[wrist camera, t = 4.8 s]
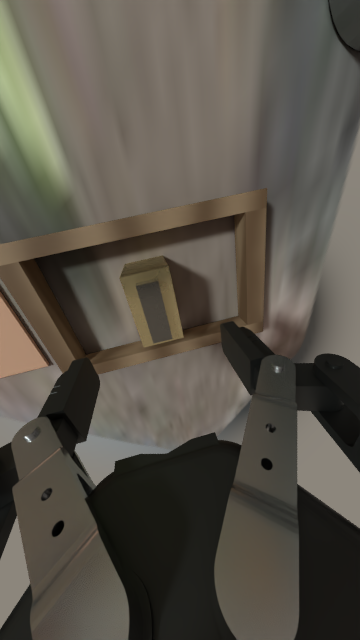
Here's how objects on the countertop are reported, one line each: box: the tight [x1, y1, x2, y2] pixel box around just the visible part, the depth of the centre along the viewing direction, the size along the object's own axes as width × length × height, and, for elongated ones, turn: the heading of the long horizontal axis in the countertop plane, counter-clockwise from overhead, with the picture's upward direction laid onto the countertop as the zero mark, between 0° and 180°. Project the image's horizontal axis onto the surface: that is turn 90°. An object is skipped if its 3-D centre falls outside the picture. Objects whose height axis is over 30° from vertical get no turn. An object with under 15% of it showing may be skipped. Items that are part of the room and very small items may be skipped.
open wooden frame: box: [0, 188, 267, 374], centre depth 21 cm, size 24×15×2 cm, turn 101°
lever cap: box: [120, 256, 184, 348], centre depth 19 cm, size 4×7×6 cm, turn 11°
